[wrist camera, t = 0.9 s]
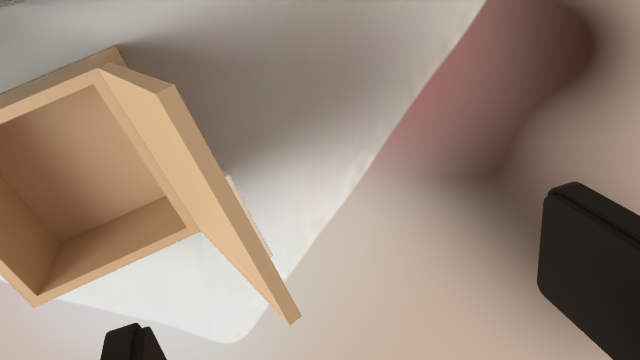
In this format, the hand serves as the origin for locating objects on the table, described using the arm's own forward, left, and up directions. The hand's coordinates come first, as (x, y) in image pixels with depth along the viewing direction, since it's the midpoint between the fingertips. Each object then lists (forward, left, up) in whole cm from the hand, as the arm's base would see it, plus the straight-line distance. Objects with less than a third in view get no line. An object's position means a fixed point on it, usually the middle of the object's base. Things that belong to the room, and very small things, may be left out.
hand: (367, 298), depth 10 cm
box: (+16, +3, -32) cm, 35 cm away
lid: (+6, +3, -17) cm, 18 cm away
